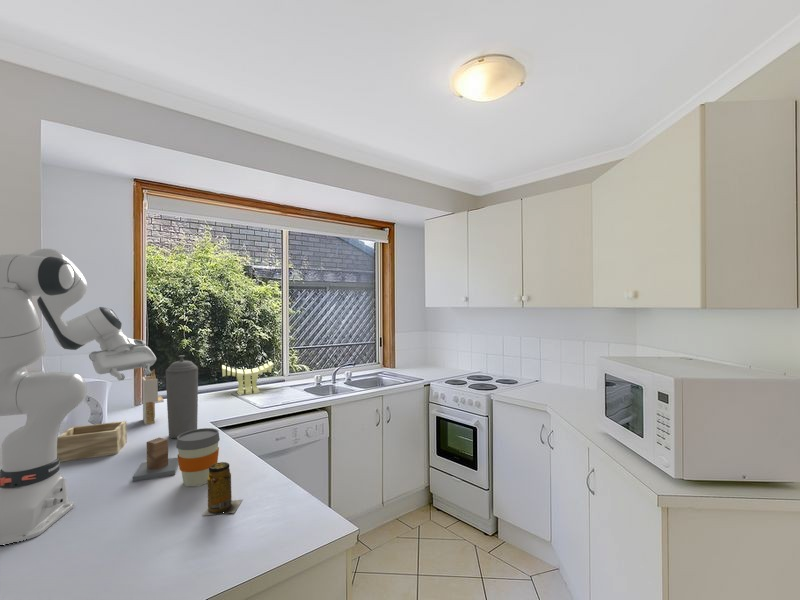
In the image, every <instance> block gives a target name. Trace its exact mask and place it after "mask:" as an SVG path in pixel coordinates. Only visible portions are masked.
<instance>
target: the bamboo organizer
mask: <svg viewBox="0 0 800 600" xmlns="http://www.w3.org/2000/svg"><path fill="white" fill-rule="evenodd" d="M127 437H128V436H127V420H123V421H121V420H120V421H113V422H106V423H105V422H104V423H97V424H96V423H95V424H87V425H86V424H85V425H79V426H71V427H69V428H68V429H67V430H66V431H64V432H63V433H61V434H60V435H58V439H57V457H59V461H60V463H61V462H69V461H75V460H84V459H90V458H97V457H106V456H111V455H118V454H119V453H120V452H121V450H122V449H123V448H124V446H125V445H126V444H127V439H128V438H127Z"/></svg>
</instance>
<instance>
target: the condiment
mask: <svg viewBox="0 0 800 600" xmlns="http://www.w3.org/2000/svg"><path fill="white" fill-rule="evenodd" d="M207 481H208V483H207V508H206V510H205V511H204V512H203V513H202V516H215V515H216V516H217V515H226V514H227V515H228V514H235V513H236V511H237V510H238V509H239V507H240V506H241V503H242V502H243V499H234V500H232V498H233V497H232V473H231V469H230V463H228V462H226V461H225V462H223V461H221V462H217V463H215V464H213V465H211V466H210V467H209V476H208V480H207ZM223 512H224V513H223Z"/></svg>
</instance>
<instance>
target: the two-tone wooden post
mask: <svg viewBox="0 0 800 600" xmlns="http://www.w3.org/2000/svg"><path fill="white" fill-rule="evenodd" d="M155 370H156V369H153V370H150V371H151V374H150V375H146V376H142V381H141V382H142V383H141V384H142V420H143V424H144V425H145V426H148V425H153V424H155V418H156V409H155V408H156V407H155V406H156V404H159V403H164V402H165V400H164V398H163V397H162V396H161V395H160V396H159V391H158V390H159V388H158V387H159V384H158V382H159V381H158V378H156V374H155Z"/></svg>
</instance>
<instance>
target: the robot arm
mask: <svg viewBox="0 0 800 600" xmlns="http://www.w3.org/2000/svg"><path fill="white" fill-rule="evenodd" d="M87 290H88V281H87V279H86V278H85V276H84V274H83V272H82V271H81V270H80V269H79V267H77V265H76V264H75V263H74V262H72V261H71V259H69V257H67V256H65V255H64V254H63V253H62V252H60V251H58V250H56V249H52V248H41V249H37V250H35V251H32V252H30V253H29V254H28V255H27V254H18V253H16V254H15V253H13V254H10V253H9V254H0V417H7V416H18V415H26V420H25V424H24V425H23V426H20V427H19V428H17V429H15V430H14V431H12V432H9V434H8V435H6V436H5V438H4V439H3V441H2V442H1V469H0V545H3V544H8V543H13V542H17V543H20V542H19V541H21V542H24V541H27V540H30V539H33V538H35V537H38V536H39V535H42V533H43V532H45V531H46V530H47V529H49V528H50V527H51V526H53V524H55V523H57V521H58V520H60V519H61V518H62V517H63V516H65V515H66V514H67V513H68V512H69V511H71V510H72V509H73V508H74V507H75V503H74V502H73V501H69V498H68V489H67V486H68V485H67V480H66V477H64V476H63V475H61V473H60V472H59V471H60V466H61V462H60V461H59V457H57V439H58V437H59V431H60V428H61V424H63V423H62V422H63V421H64V419H65V418H66V417H67V416H68V414H69V413H70V412H71V411H72V410H74V409H75V408H77V407H78V406H79V405H81V403H82V402H83V401H84V399H85V398H86V395H87V392H88V386H87V382H86V380H85V378H84V377H83V376H81V375H80V374H78V373H73V372H65V371H64V372H63V371H54V372H39V373H38V372H37V373H36V372H34V373H31V372H29V371H28V369H27V367H29V366H30V365H32V364H34V363H36V362H38V361H39V360H41V358H42V357H43V356H44V355H45V353H46V350H47V345H46V341H45V339H44V338H45V337H44V333H43V330H42V325H41V321H40V317H39V315H38V312H37V310H36V307H35V305H34V303H33V301H32V298H33V297H35V296H36V297H37V296H39V297H37V299H36V301H37V302H36V303H37V305H38V308H39V310H40V312H41V314H42V316H43V317H44V319H45V321H46V322H47V325H48V326H49V327H50V330H51V331H52V334H53V338H54V339H55V342H56V343H57V344H58V346H60V347H62V348H63V350H70V351H77V350H78V349H80V348H82V347H84V346H86V344H88V343H91V342H92V341H96V342H97V343H98V345H99V347H100V350H98V351H92V352H91V353H89V354H88V358H89V360H90V361H91V363H92V366H93V368H94V370H95V373H96V374H98V375H104V374H105V375H106V374H110V375H111V376H113V377H114V378H116V379H117V380H118V381H119V382H120V381H123V380H125V379H126V376H125V374H124V373H123V372H122V371H128V370H135V369H140V368H142V369H144V371H143V372H142V373H143V374H144V377H147V376H151V371H152V370H151V369H150V367H152V366H153V365H154V364H155V363H156V362H157V357H156V355H155V353H154V352H153V350H152V349H151V348H150V347H149V346H147V345H146V344H147V343H146V341H144V340H141V339H134V338H129V337H128V336H127V335H126V334H124V333H123V328H122V326H123V325H122V324H123V323H122V321H121V320H120V319H119V317H118V316H117V314H116V313H115V312H114V311H113V310H112V309H111V308H108V307H104V306H99V307H96V308H93V309H92V310H89V311H87V312H85V313H83V314H81V315H79V316H77V317H73V318H72V319H69V320H67V321H64V318H63V316H62V315H63V314H64V313H65V312H66V311H67V310H69V308H71V307H72V306H73V305H75V304H77V303H79V301H81V300H82V299H83V298H84V296H85V295H86V293H87ZM120 372H121V373H120ZM26 539H27V540H26ZM23 540H24V541H23ZM13 544H14V543H13Z"/></svg>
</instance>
